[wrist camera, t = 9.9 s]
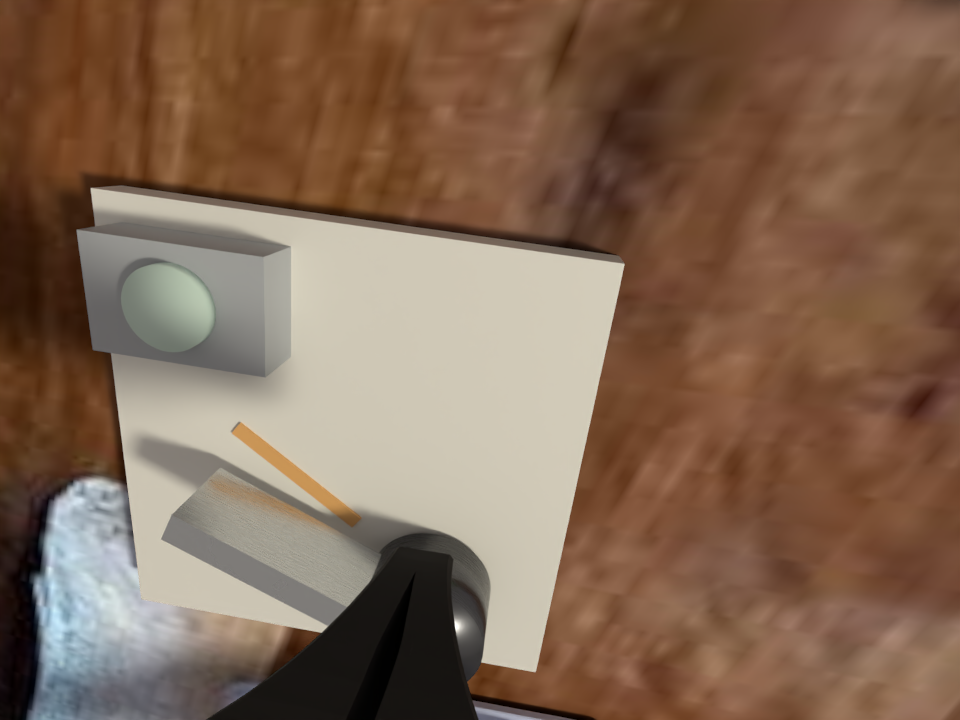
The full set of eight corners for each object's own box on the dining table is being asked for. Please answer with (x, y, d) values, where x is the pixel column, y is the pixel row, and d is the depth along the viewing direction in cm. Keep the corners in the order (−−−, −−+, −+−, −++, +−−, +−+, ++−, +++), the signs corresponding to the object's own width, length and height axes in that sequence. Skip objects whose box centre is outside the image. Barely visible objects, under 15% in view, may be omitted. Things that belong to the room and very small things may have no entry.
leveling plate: (536, 643, 26) (534, 727, 22) (162, 576, 27) (100, 644, 23) (618, 255, 19) (636, 280, 16) (121, 185, 20) (26, 192, 17)
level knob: (513, 572, 22) (508, 644, 19) (453, 648, 24) (439, 726, 21) (243, 424, 21) (189, 474, 18) (201, 515, 23) (144, 575, 20)
